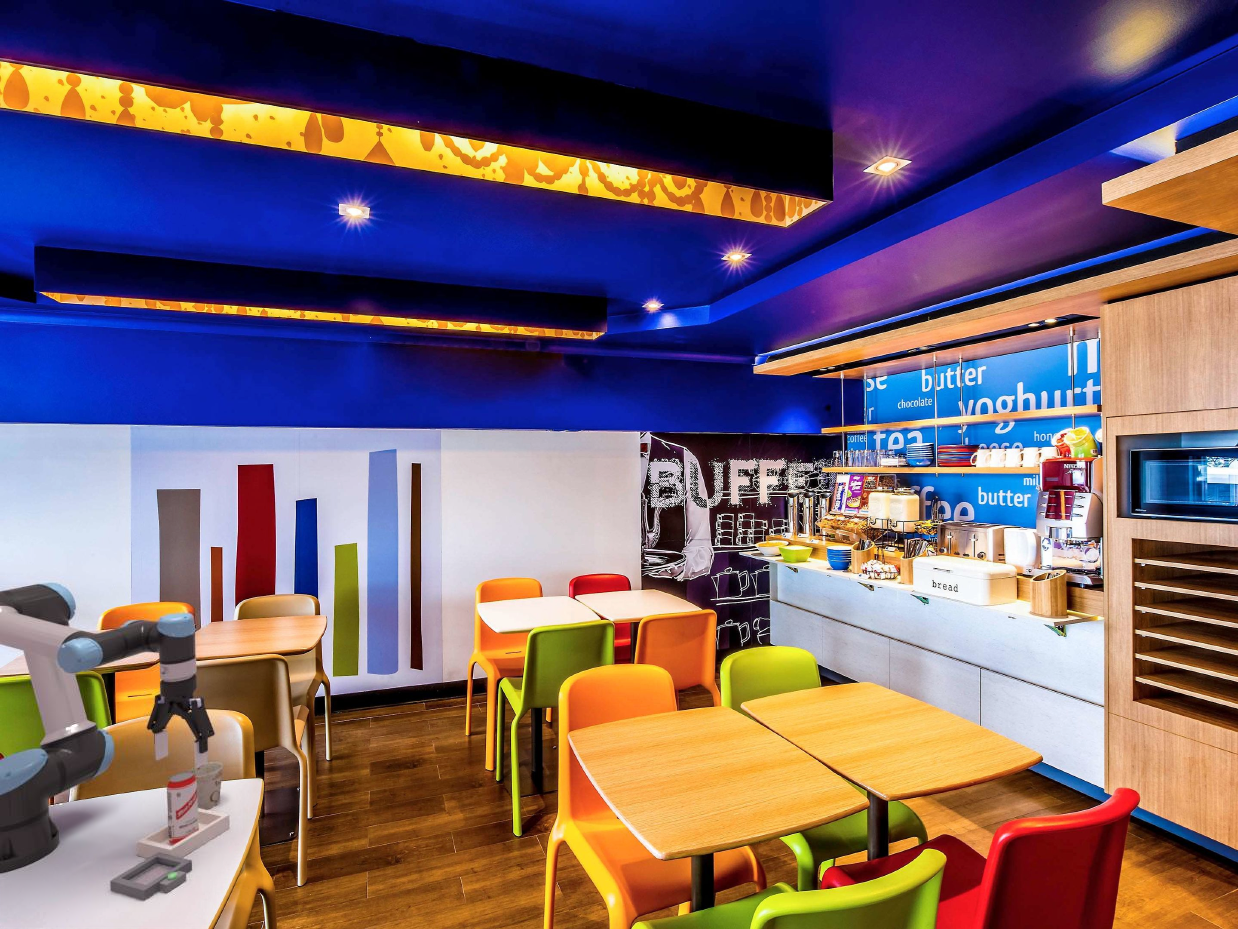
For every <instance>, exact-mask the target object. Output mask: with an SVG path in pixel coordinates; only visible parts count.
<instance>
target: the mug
mask: <svg viewBox="0 0 1238 929" xmlns="http://www.w3.org/2000/svg"><path fill="white" fill-rule="evenodd" d="M223 769H224V764H223V762H222V763H221V762H220V761H210V762H207V764H205V765H202V766H200V767H198V768H195V766H194V767H192V768H190V769H189V770H188V771H192V772H194V776H195V777H196V779H197V799H198V808H200V809H205V810H210V809H212V808H214V807H216V806H217V805H219V803H220V798H221V788H222V781H223V780H222V779H223Z"/></svg>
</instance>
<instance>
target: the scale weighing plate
mask: <svg viewBox="0 0 1238 929" xmlns="http://www.w3.org/2000/svg"><path fill="white" fill-rule="evenodd" d="M171 869H173V867H169V866H165V865H162V864H158V863H156V864H155V865H153V866H151V867H150V868H148V869H146V870H145V871H143V872H142V873H140V874H138V875H137V876H135V877H133V878H132V879H130V881H133V882H137V883H140V884H144V885H147V884H149V883H150V882H152V881H154V880H155V879H157V878H158V877H160V876H162V875H163V874H165V873H166V872H168V871H169V870H171Z"/></svg>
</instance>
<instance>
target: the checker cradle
mask: <svg viewBox="0 0 1238 929" xmlns="http://www.w3.org/2000/svg"><path fill="white" fill-rule="evenodd" d="M192 862H193V861H192V860H191V859H188V858H185V857H183V858H180V857H176V856H172V855H167V854H163V853H159V852H158V853H156V854H155V855H153V856H151V857H150V858H145V860H143V861H141V862H140V863H138V864H136V865H135V866H133V867H131V868H129V869H127V870H126V871H124V872H123V873H121V874H120V875H118V876H116V877H114V878H112V879H111V880H110V881H109V882H110V883H109V884H110V885H109V886H110V888H109V889H110V892H115V893H118V894H121V895H125V896H128V897H131V898H135V899H138V900H141V901H146V900H148V899H149V898H151V897H153V896H154V895H156V894H157V893H159V892H161V893H166V894H169V892H171V891H172V890H174V889H176V888H177V887H179V886H180V885H182V884H183V883H184V882H186V881H187V874H188V873H189V872H191V871H193V863H192ZM156 863H158V864H162V865H165V866H169V867H173V869H171V870H169V871H168V872H166V873H165V874H163V875H162V876H160V877H158V878H157V879H155V880H154V881H152V882H150V883H149V884H147V885H144V884H140V883H137V882H133V881H130V879H132V878H133V877H135V876H137V875H138V874H140V873H142V872H143V871H145V870H146V869H148V868H150V867H151V866H153V865H155V864H156Z"/></svg>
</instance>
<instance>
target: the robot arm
mask: <svg viewBox="0 0 1238 929" xmlns="http://www.w3.org/2000/svg"><path fill="white" fill-rule="evenodd" d="M75 600H76V599H75V597H74V595H73V594H72V592H71V591H70V590H69V589H68V588H67V587H66V586H64V585H62V584H61V583H57V582H47V583H46V582H44V583H35V584H31V585H26V586H22V587H16V588H15V587H14V588H10V589H6V590H5V589H4V590H1V591H0V645H2V646H6V647H8V648H12V649H16V650H20V651H23V656H24V658H25V662H26V666H27V669H28V673H29V678H30V681H31V685H32V688H33V691H34V697H35V700H36V704H37V707H38V712H39V715H40V718H41V722H42V726H43V731H44V733H45V735H44V737H43V739H42V740H41V742H40V743H39V746H40V748H31V749H25V750H23V751H21V752H15V753H12V754H10V755H7V756H5V757H3V758H1V759H0V873H4V872H9V871H12V870H15V869H19V868H21V867H25V866H27V865H29V864H32V863H34V862H36V861H38V860H40V859H43V858H44V857H45V856H48V855H49V854H50V853H51V852H53V851H54V850H55V849H56V848H57V847H58V845H60V831H59V829H58V827H57V825H56V823H55V821H54V820H53V817H52V816H51V814H50V810H49V809H50V808H49V806H50V805H49V800H50V799H51V798H53V797H55V796H58V795H60V794H62V793H65V792H66V791H68V790H70V789H72V788H75V787H77V786H79V785H81V784H83V783H86V782H89V781H92V779H94V778H95V777H98V776H99V775H101V774H103V773H104V772H105V771H106V770H107V769H108V768H109V767H110V766H111V763H112V761H113V760H114V754H115V743H114V739H113V737H112V735H111V734H109V732H108V731H107V730H106V729H104V728H103V729H102V728H98V724H97V723H96V722H94V721H90V720H89V719H88V718H87V714H86V710H85V706H84V703H83V702H84V701H83V698H82V695H81V692H80V687H79V684H78V681H77V676H76V674H77V673H81V672H87V671H88V672H89V671H91V670H93V669H95V668H98V667H102V666H105V665H108V664H111V663H114V662H116V661H117V662H118V661H120V660H123V659H126V658H127V659H128V658H130V657H133V656H137V655H139V654H142V653H143V654H144V653H155V654H156V653H158V657H159V658H158V662H159V678H160V681H159V694H155V696H154V703H153V706H152V707H153V708H152V710H151V714H150V716H149V719H148V722H147V725H146V729H147V731H149V730H151V732H152V733H153V740H154V741H153V743H154V751H155V752H154V753H155V760H156V761H160V760H162V759H164V758H166V757H169V739H168V738H169V737H168V736H169V735H168V732H169V731H168V729H167V727H168V724H169V723H170V721H171V720H172V718H173V717H174V716H178V717H180V718H181V719H182V720H185V722H186V724H187V725H188V727H189V730H190V731H191V732H192V735H194V737H195V740H194V741H193V748H194V752H193V753H194V767H195V768H198V767H200V766H202V765H205V764H207V763H208V751H209V738H211V737H213V736H215V734H216V732H215V730H214V728H213V725H212V722H211V719H210V717H209V714H208V712H207V710H206V707H205V700H204V699H205V698H204V697H203V696H201V697H199V698H195V697H194V692H196V690H197V688H198V682H197V681H198V679H197V675H196V673H197V656H196V655H197V654H196V630H197V629H196V626H195V617H194V615H193V614H192V613H189V612H180V613H179V612H175V613H169V614H166V615H165V614H164V615H162V616H160V617H159V618H158V620H156V621H155V620H148V619H137V620H135V619H134V620H133V619H132V620H129V621H126V622H124V624H122V625H121V626H119V627H117V628H113V629H110V630H109V629H108V630H106V631H102V632H97V633H95V632H89V631H85V630H82V629H78V628H74V627H71V626H70V622H69V621H71V620H72V619H73V618H74V617H75V614H76V610H77V604H76V601H75Z"/></svg>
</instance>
